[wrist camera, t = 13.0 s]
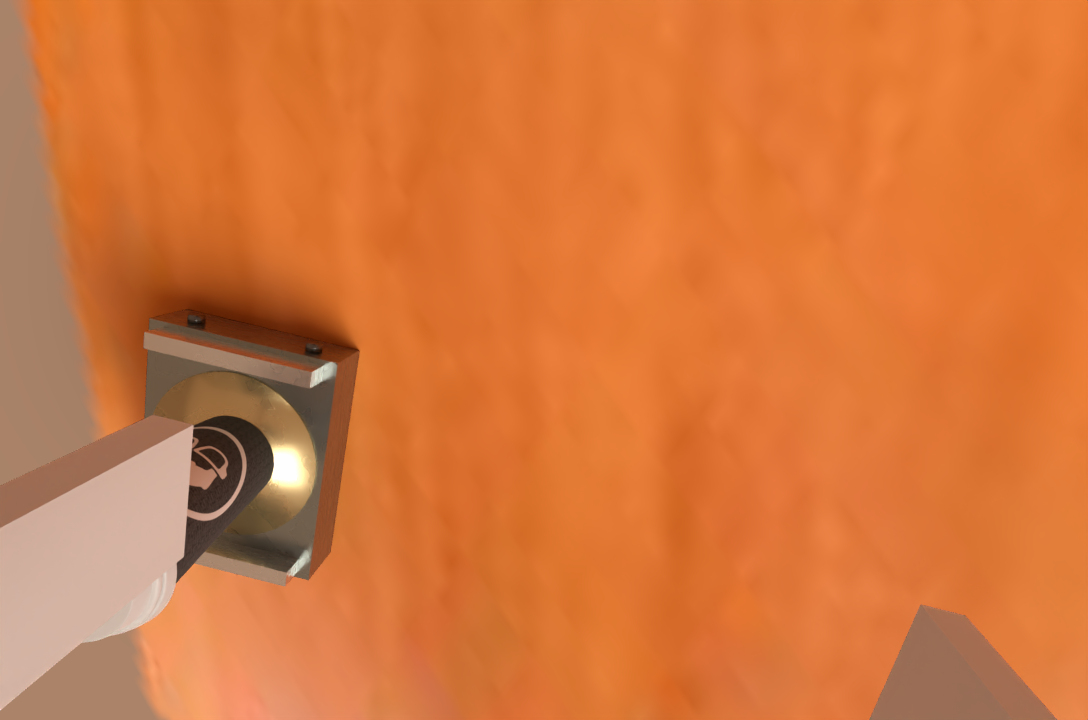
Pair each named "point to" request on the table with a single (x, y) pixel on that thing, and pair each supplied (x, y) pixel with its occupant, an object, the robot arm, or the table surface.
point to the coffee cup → (205, 506)
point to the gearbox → (262, 429)
